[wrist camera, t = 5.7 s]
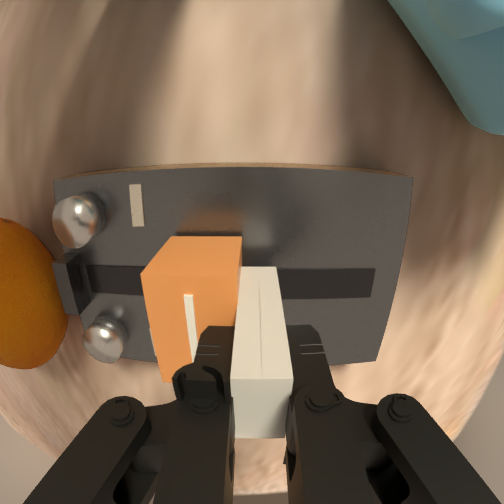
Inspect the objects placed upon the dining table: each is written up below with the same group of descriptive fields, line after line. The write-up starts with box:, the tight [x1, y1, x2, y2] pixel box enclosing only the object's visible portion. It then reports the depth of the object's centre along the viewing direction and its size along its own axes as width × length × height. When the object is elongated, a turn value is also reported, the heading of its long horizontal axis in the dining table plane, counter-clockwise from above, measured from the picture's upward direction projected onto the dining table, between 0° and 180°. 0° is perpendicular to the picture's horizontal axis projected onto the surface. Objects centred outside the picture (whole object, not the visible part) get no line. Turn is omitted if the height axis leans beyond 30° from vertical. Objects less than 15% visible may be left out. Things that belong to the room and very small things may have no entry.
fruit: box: [0, 218, 69, 369], centre depth 14 cm, size 10×11×8 cm
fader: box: [140, 236, 242, 383], centre depth 12 cm, size 5×3×4 cm, turn 0°
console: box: [52, 163, 413, 365], centre depth 15 cm, size 11×18×4 cm, turn 90°
